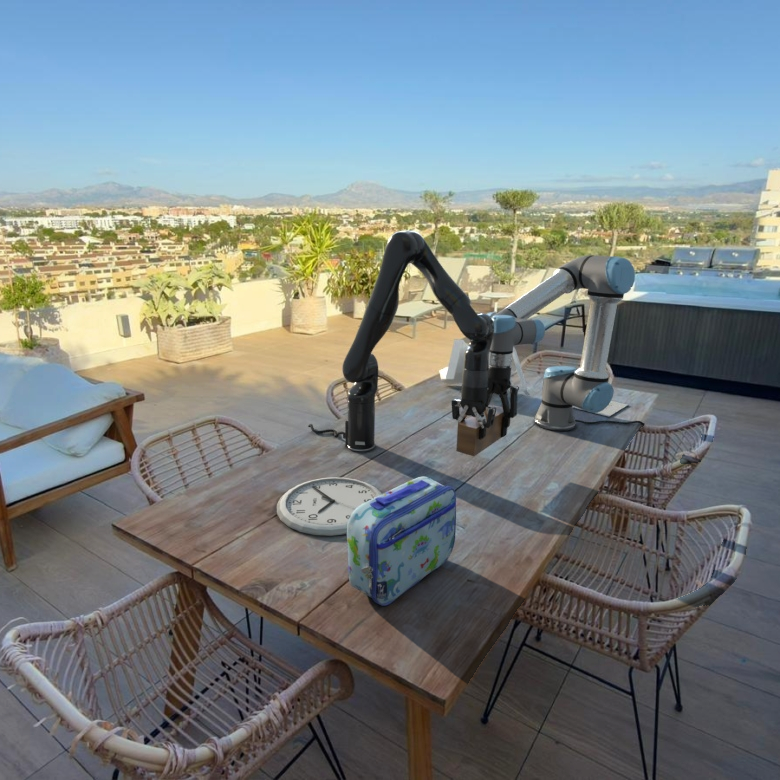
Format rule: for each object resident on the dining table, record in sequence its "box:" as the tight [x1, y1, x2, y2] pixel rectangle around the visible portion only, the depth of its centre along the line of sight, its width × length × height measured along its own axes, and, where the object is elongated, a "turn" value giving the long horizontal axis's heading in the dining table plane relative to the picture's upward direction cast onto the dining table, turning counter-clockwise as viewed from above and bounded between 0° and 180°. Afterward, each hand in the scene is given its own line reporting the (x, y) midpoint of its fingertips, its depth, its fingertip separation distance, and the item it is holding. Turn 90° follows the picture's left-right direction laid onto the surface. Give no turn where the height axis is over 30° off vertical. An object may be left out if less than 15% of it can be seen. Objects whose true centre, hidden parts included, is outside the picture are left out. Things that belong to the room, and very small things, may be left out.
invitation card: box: [573, 400, 629, 418], centre depth 226 cm, size 21×1×15 cm
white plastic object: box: [438, 310, 531, 397], centre depth 245 cm, size 37×45×31 cm
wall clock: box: [276, 476, 384, 537], centre depth 142 cm, size 30×2×30 cm
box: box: [455, 404, 508, 457], centre depth 164 cm, size 22×6×9 cm, turn 143°
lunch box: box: [346, 475, 457, 607], centre depth 111 cm, size 26×11×21 cm, turn 134°
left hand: (471, 436), depth 158 cm, fingers closed on box, 6 cm apart
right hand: (493, 433), depth 171 cm, fingers closed on box, 6 cm apart
